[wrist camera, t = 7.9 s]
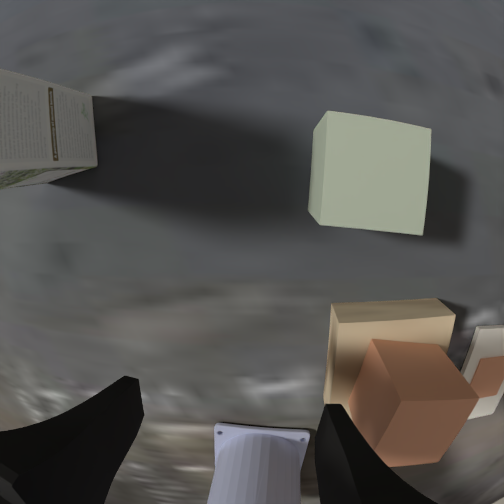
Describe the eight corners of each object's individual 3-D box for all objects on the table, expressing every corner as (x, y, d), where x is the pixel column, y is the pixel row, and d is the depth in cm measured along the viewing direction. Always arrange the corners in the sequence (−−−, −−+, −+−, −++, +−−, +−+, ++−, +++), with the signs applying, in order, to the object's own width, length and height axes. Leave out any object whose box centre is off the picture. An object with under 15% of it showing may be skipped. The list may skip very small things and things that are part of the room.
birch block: (415, 384, 22) (429, 410, 18) (322, 393, 23) (327, 422, 19) (434, 296, 20) (455, 314, 17) (330, 300, 21) (338, 323, 17)
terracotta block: (410, 403, 18) (438, 462, 13) (347, 401, 19) (363, 468, 13) (437, 344, 17) (479, 397, 11) (371, 338, 17) (401, 400, 12)
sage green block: (383, 218, 19) (422, 235, 13) (307, 210, 19) (319, 224, 13) (389, 141, 18) (431, 128, 12) (313, 130, 18) (327, 110, 12)
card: (490, 410, 22) (493, 414, 21) (438, 420, 22) (441, 425, 21) (527, 323, 19) (532, 326, 19) (476, 326, 20) (481, 330, 19)
